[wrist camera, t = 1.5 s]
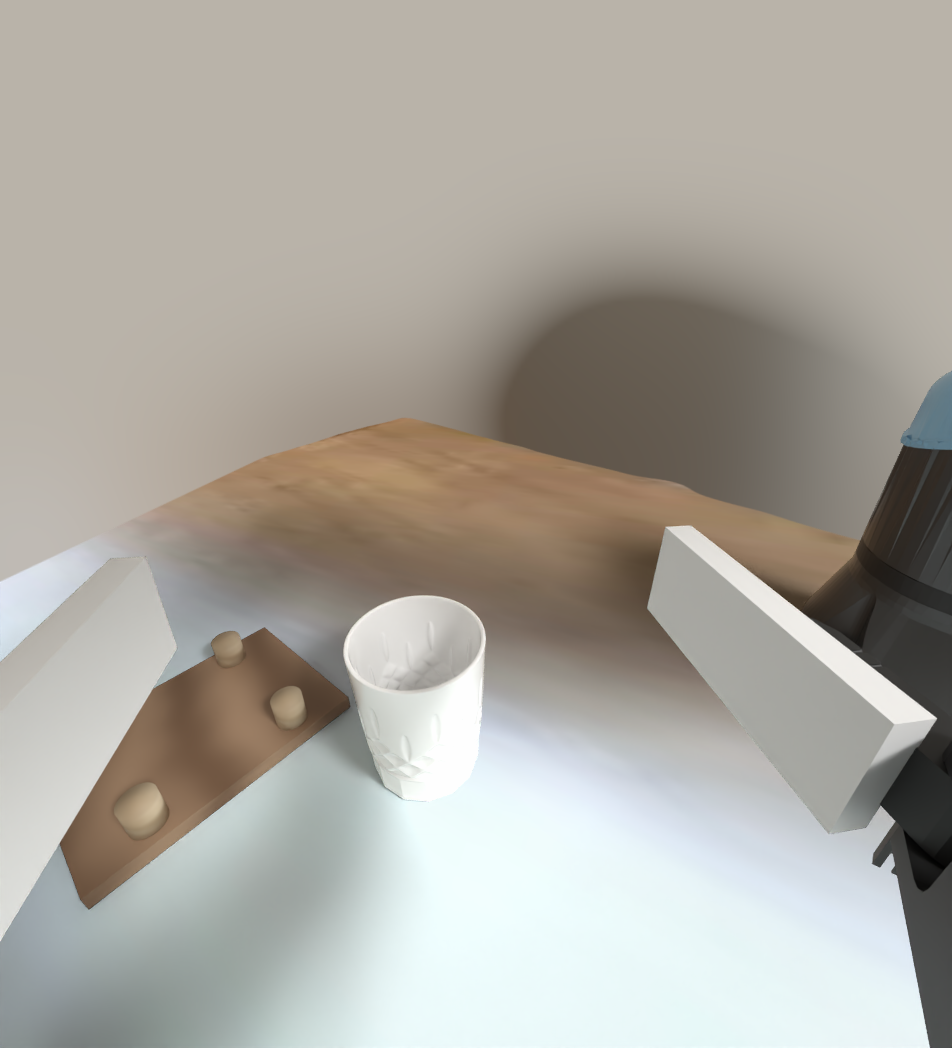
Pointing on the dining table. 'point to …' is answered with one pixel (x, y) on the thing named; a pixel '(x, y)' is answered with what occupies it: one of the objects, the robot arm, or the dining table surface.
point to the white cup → (419, 692)
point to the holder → (195, 754)
